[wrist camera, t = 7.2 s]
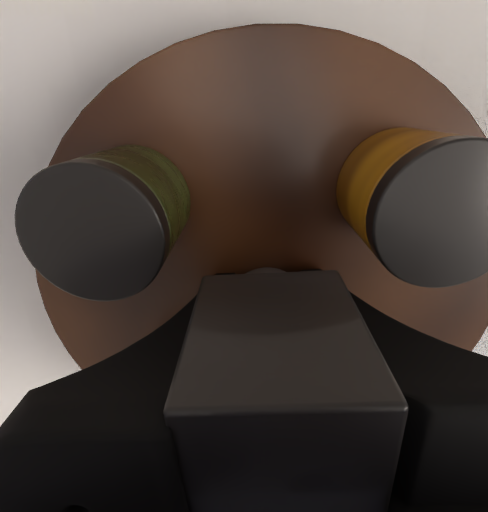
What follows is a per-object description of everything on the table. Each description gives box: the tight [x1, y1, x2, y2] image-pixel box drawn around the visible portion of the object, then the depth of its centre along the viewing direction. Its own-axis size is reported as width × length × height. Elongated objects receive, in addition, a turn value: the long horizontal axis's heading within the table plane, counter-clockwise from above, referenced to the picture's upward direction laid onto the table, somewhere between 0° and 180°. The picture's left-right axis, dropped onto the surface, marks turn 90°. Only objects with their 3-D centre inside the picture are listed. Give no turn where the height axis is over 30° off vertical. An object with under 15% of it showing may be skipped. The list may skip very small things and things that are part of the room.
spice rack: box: [15, 24, 488, 512], centre depth 8 cm, size 15×15×8 cm
